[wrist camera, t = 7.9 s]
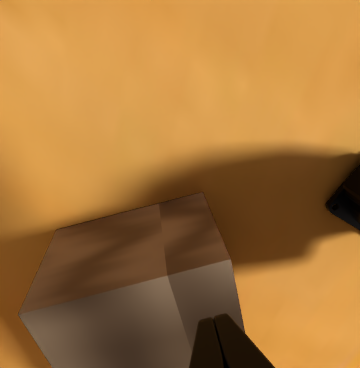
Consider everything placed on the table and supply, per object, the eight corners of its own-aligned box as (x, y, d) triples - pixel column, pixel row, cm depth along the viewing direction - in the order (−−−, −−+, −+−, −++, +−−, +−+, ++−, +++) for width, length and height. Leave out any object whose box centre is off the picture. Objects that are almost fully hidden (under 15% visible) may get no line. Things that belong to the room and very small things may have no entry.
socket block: (202, 191, 20) (230, 259, 14) (233, 332, 26) (262, 423, 20) (54, 230, 20) (14, 315, 14) (118, 362, 26) (112, 463, 20)
